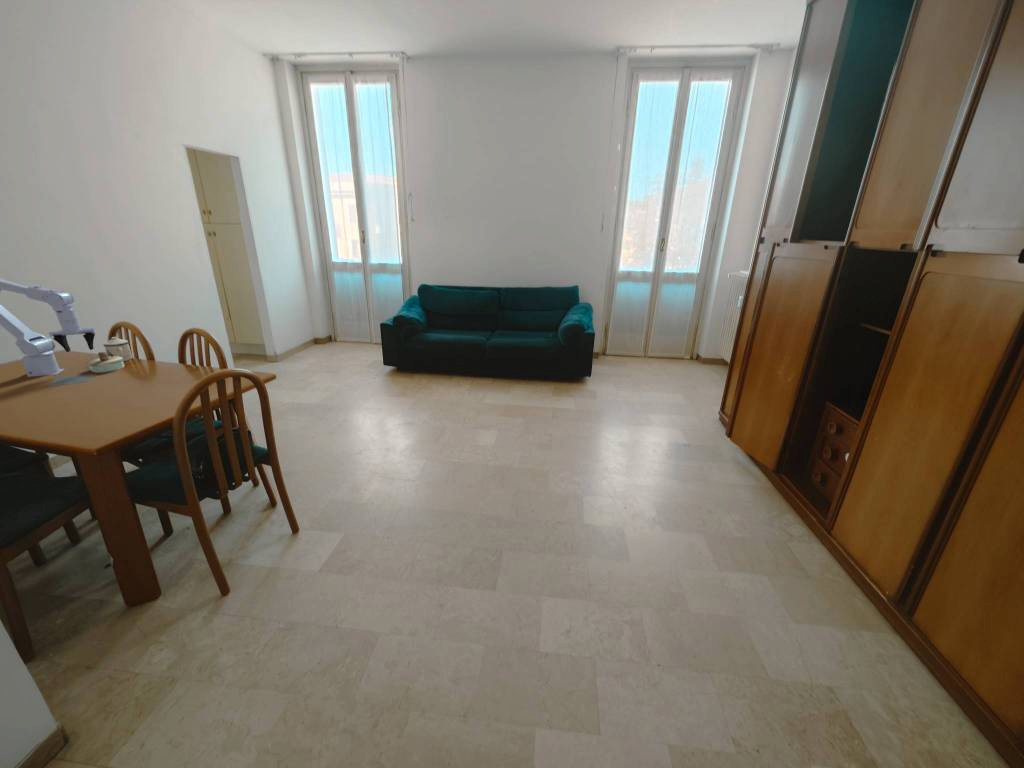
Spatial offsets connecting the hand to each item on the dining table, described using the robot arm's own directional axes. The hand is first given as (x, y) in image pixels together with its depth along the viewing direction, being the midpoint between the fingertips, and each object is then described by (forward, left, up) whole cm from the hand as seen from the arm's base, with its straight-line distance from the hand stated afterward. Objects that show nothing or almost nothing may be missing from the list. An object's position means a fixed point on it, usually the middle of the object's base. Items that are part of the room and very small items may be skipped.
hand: (80, 350), depth 179 cm
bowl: (+7, +1, -10) cm, 12 cm away
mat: (-1, -12, -10) cm, 16 cm away
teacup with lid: (+8, +16, -11) cm, 21 cm away
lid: (+7, +1, -6) cm, 9 cm away
